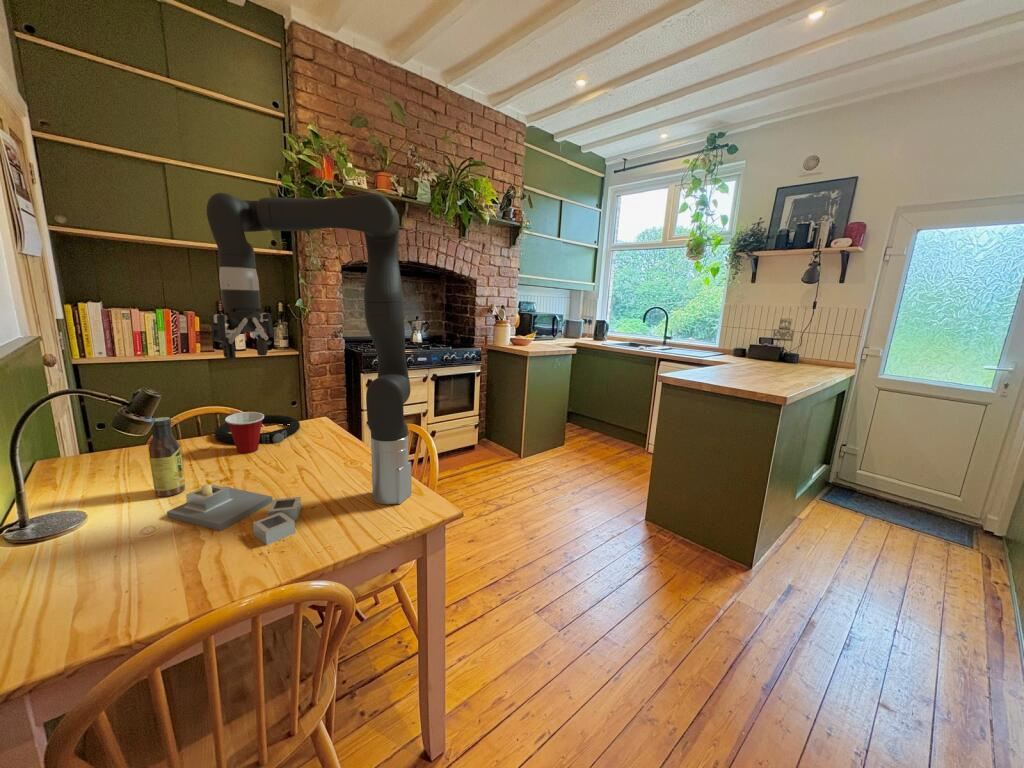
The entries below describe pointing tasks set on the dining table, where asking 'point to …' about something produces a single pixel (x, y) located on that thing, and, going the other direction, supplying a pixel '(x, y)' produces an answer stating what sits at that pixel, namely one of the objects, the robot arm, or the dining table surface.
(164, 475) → the sauce bottle
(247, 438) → the plastic cup
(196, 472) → the dining table surface
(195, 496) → the grey square ring
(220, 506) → the keeper board
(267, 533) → the slack link
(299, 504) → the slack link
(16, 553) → the dining table surface
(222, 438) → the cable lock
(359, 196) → the robot arm
